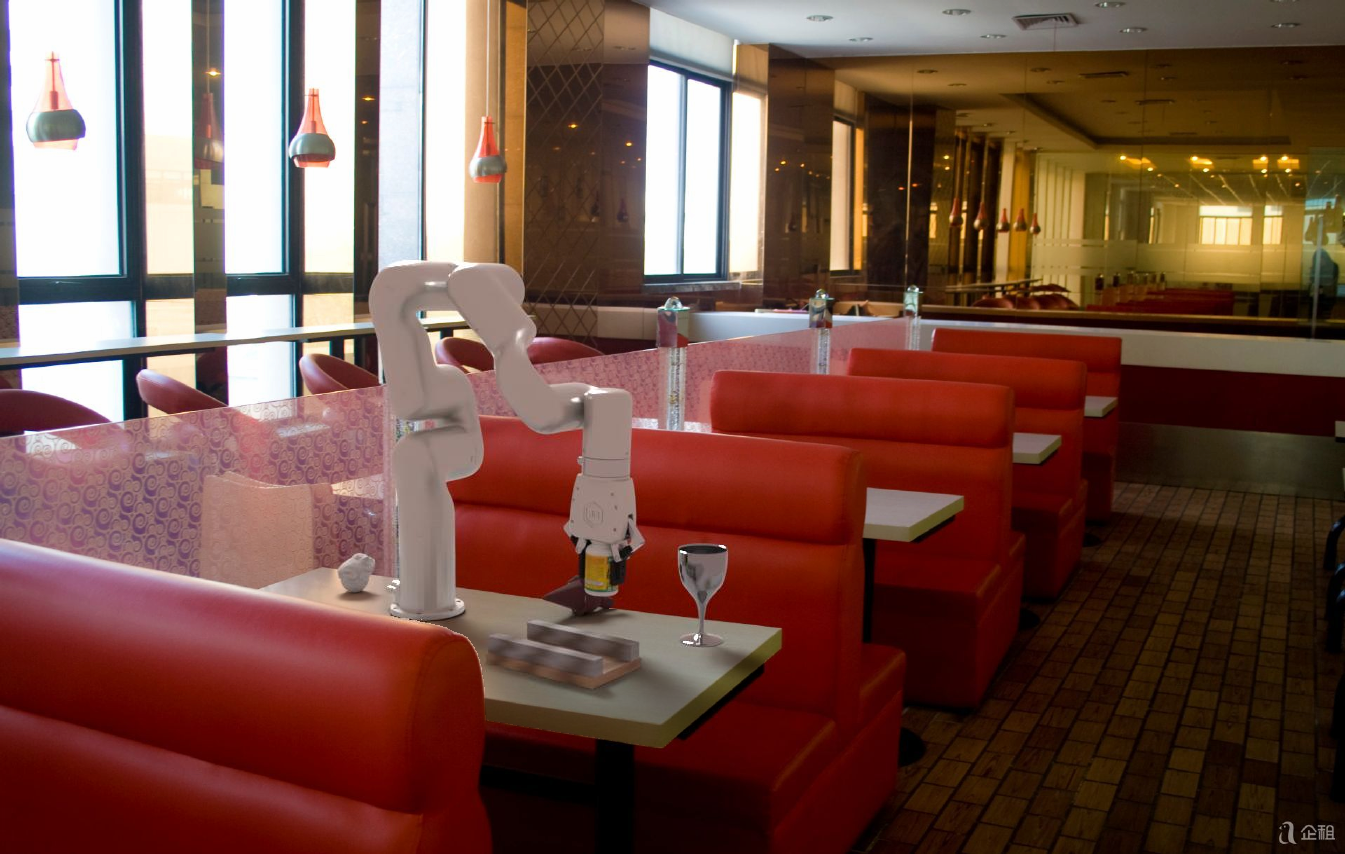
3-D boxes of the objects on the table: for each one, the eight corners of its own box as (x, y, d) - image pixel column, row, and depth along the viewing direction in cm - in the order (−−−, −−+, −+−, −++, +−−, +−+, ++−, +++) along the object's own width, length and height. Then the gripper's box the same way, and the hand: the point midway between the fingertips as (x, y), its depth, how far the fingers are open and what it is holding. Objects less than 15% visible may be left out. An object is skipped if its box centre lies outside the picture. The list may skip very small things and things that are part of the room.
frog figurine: (381, 592, 219) (381, 554, 218) (345, 598, 215) (345, 559, 214) (366, 585, 224) (366, 548, 223) (331, 591, 219) (330, 553, 219)
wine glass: (733, 636, 195) (735, 546, 193) (714, 650, 188) (716, 556, 186) (688, 630, 198) (689, 541, 196) (668, 643, 191) (670, 551, 189)
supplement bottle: (594, 586, 193) (596, 527, 191) (624, 591, 190) (626, 531, 189) (578, 593, 188) (580, 533, 186) (608, 598, 186) (610, 538, 184)
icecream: (557, 589, 198) (631, 584, 207) (536, 569, 204) (610, 565, 213) (548, 626, 200) (622, 620, 209) (528, 605, 206) (601, 600, 215)
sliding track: (485, 662, 180) (485, 636, 179) (537, 643, 190) (537, 618, 189) (592, 689, 169) (592, 661, 168) (640, 667, 179) (641, 641, 178)
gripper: (547, 463, 188) (544, 575, 190) (637, 478, 179) (632, 596, 181) (577, 458, 194) (573, 567, 197) (665, 472, 185) (659, 586, 187)
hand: (601, 579), depth 189 cm, fingers closed on supplement bottle, 5 cm apart
